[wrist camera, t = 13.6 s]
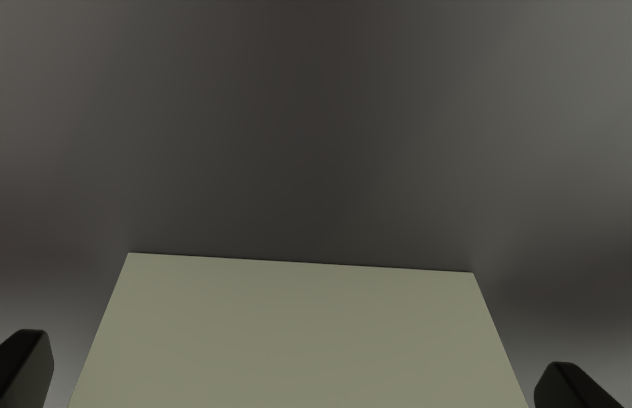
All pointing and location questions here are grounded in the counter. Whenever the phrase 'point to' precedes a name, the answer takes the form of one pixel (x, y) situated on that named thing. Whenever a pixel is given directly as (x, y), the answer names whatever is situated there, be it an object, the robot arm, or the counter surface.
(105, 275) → the counter surface
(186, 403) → the sage green cuboid
